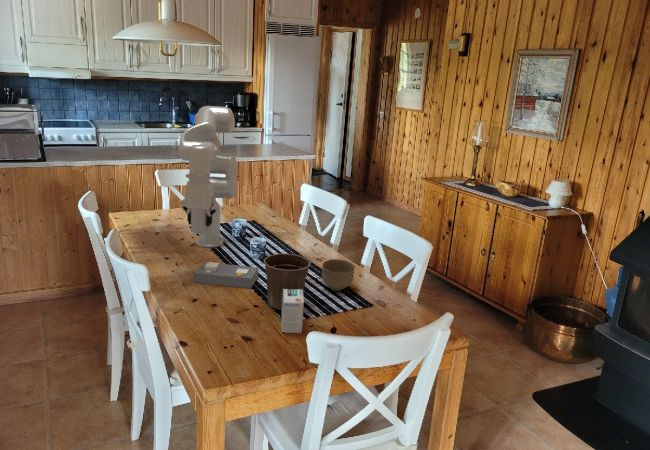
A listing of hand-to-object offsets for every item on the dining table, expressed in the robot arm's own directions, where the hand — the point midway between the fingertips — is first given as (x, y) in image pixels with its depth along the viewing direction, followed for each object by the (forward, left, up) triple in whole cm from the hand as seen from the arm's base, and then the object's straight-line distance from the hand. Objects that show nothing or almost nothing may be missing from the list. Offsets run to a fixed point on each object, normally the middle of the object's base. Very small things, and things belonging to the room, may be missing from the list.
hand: (199, 224), depth 201 cm
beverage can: (0, 0, -3) cm, 3 cm away
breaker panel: (0, +11, -22) cm, 24 cm away
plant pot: (+16, +37, -22) cm, 46 cm away
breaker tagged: (0, +17, -20) cm, 27 cm away
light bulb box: (+32, +42, -22) cm, 57 cm away
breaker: (0, +5, -19) cm, 20 cm away
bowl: (-2, +54, -22) cm, 58 cm away
